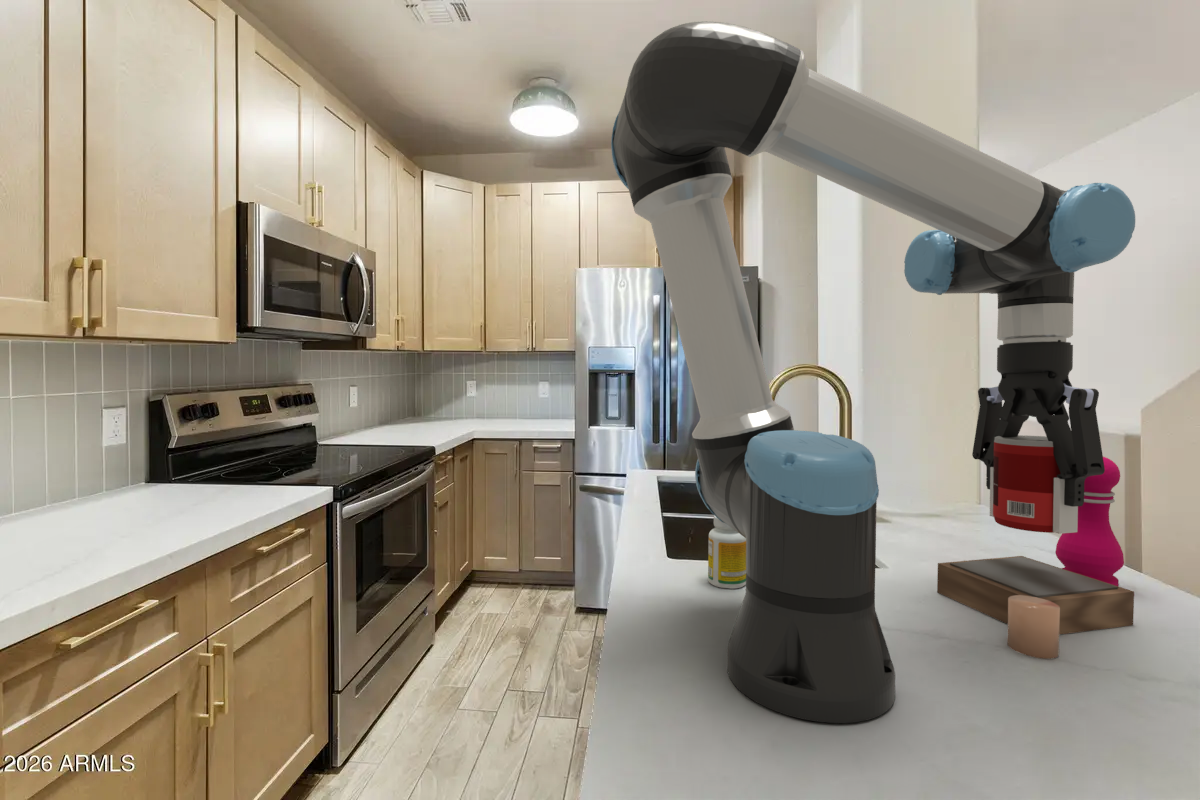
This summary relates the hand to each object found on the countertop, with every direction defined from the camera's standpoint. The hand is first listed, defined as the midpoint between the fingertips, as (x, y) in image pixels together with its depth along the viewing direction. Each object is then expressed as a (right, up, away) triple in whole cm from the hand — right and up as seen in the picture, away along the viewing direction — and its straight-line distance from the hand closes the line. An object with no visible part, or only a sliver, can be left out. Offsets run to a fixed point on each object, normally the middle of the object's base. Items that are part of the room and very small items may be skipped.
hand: (1030, 523), depth 72 cm
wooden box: (0, -11, 0) cm, 11 cm away
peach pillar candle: (-8, -11, -11) cm, 17 cm away
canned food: (0, -1, 0) cm, 0 cm away
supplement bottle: (-36, -11, +10) cm, 39 cm away
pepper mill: (+14, -11, +8) cm, 19 cm away
